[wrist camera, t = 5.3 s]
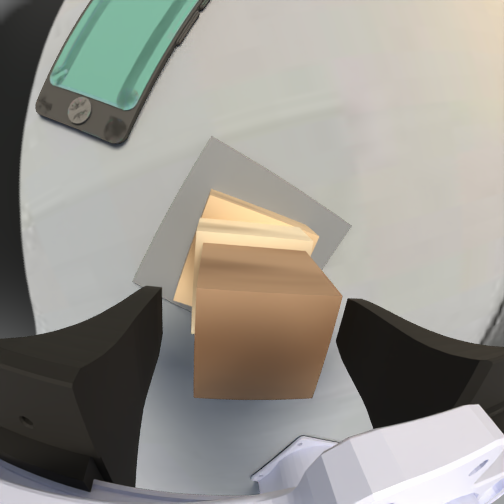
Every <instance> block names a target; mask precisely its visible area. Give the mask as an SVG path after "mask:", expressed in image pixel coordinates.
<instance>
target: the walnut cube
mask: <svg viewBox="0 0 504 504" xmlns="http://www.w3.org/2000/svg"><path fill="white" fill-rule="evenodd" d="M341 300H342V295H341V294H340V292H339V291H338V290H337V289H336V287H335V286H334V285H333V284H332V282H331V281H330V280H329V279H328V278H327V276H326V275H325V274H324V273H323V271H322V270H321V269H320V268H319V267H318V265H317V264H316V263H315V262H314V261H313V259H312V258H311V257H310V256H309V255H308V253H307V252H306V251H300V250H288V249H276V248H264V247H252V246H240V245H227V244H215V243H203V248H202V254H201V261H200V268H199V275H198V282H197V291H196V313H195V341H194V398H208V399H232V400H282V399H306V398H312V397H313V394H314V391H315V388H316V385H317V382H318V379H319V376H320V373H321V370H322V367H323V364H324V360H325V357H326V354H327V351H328V347H329V344H330V340H331V337H332V334H333V330H334V326H335V323H336V319H337V315H338V312H339V308H340V304H341Z"/></svg>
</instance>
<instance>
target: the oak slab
mask: <svg viewBox="0 0 504 504" xmlns="http://www.w3.org/2000/svg"><path fill="white" fill-rule="evenodd" d="M200 218H207V219H219V220H230V221H241V222H252V223H262V224H273V225H283V226H292V227H299V228H300V229H301V230H303V231H304V232H305V233H306V234H307V235H308V236H309V237H310V238H311V239H312V240H313V246H312V252H313V250H314V247H315V245H316V243H317V241H318V239H319V236H318V235H317V234H316V233H315V232H314V231H313V230H312V229H310V228H309V227H308V226H307V225H305V224H302V223H300V222H297V221H295V220H292V219H290V218H287V217H285V216H282V215H280V214H277V213H275V212H272V211H269V210H267V209H264V208H262V207H259V206H256V205H254V204H251V203H249V202H246V201H243V200H241V199H238V198H235V197H233V196H230V195H227V194H224V193H222V192H219V191H216V190H213V189H211V191H210V193H209V196H208V198H207V201H206V204H205V207H204V209H203V212H202V215H201V217H200ZM197 227H198V226H197ZM196 231H197V229H196ZM196 231H195V234H194V237H193V240H192V243H191V246H190V248H189V251H188V254H187V257H186V260H185V263H184V266H183V269H182V272H181V275H180V278H179V281H178V284H177V288H176V292H175V295H174V299H173V300H174V301H177V302H180V303H183V304H186V305H189V306H192V297H193V277H194V260H195V244H196ZM312 252H311V254H312Z"/></svg>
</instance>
